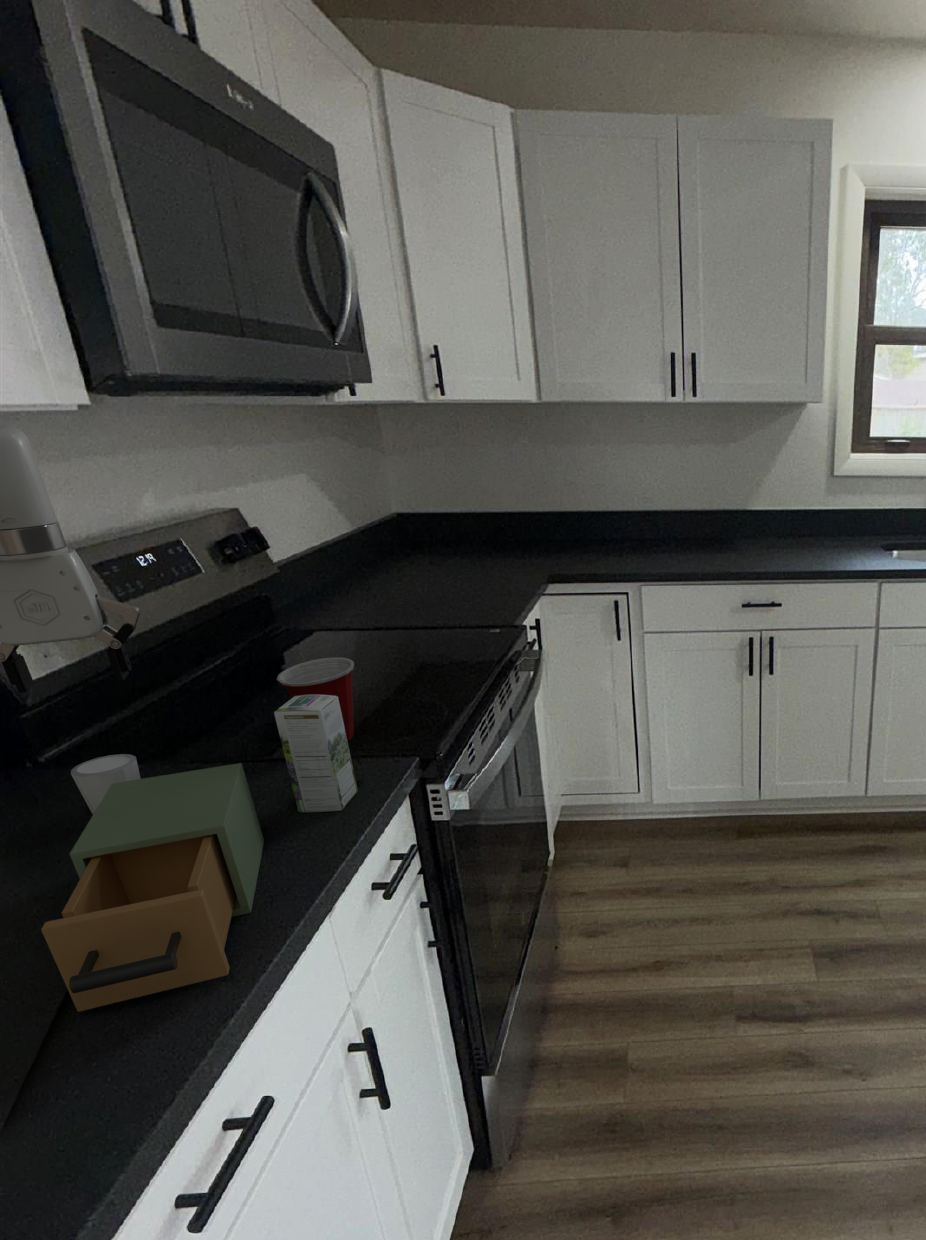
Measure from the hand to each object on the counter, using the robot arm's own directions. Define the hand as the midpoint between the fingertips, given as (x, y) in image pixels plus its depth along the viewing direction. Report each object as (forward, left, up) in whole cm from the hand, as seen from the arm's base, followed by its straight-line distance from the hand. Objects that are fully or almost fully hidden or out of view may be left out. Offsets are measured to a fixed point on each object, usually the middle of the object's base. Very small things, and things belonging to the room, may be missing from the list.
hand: (76, 683), depth 98 cm
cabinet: (+11, -25, -18) cm, 33 cm away
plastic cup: (+25, +15, -18) cm, 34 cm away
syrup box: (+25, -9, -18) cm, 32 cm away
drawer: (+11, -40, -17) cm, 45 cm away
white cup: (0, 0, -18) cm, 18 cm away
